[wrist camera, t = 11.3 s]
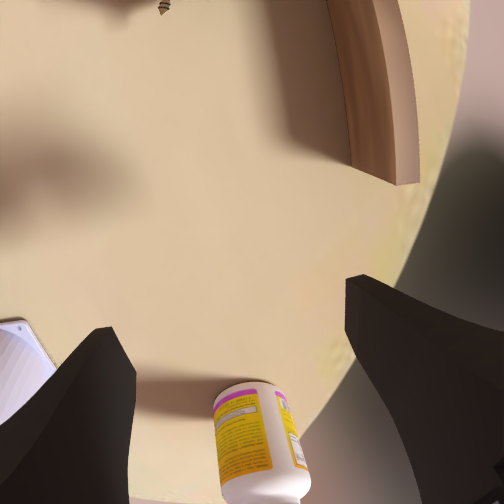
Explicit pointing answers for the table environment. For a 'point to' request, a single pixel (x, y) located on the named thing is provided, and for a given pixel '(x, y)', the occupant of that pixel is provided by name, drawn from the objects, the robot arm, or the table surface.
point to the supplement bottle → (258, 446)
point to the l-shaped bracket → (377, 88)
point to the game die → (164, 6)
